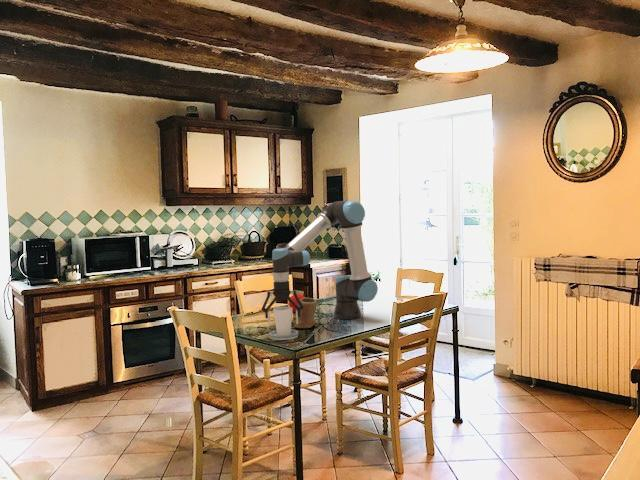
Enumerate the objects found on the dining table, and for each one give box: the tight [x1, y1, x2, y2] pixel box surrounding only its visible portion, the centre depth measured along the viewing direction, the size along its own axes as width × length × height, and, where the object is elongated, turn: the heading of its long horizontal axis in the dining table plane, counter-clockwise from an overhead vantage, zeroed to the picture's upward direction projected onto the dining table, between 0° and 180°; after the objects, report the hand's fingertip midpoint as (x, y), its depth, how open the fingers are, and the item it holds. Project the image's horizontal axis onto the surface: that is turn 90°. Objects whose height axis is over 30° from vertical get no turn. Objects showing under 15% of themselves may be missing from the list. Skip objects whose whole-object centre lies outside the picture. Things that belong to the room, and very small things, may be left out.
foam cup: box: [272, 306, 294, 336], centre depth 274 cm, size 10×9×13 cm
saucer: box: [268, 328, 299, 341], centre depth 275 cm, size 14×14×2 cm
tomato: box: [288, 293, 306, 313], centre depth 334 cm, size 10×11×11 cm
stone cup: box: [293, 297, 318, 329], centre depth 294 cm, size 15×12×15 cm
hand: (283, 324), depth 274 cm, fingers open, 13 cm apart
